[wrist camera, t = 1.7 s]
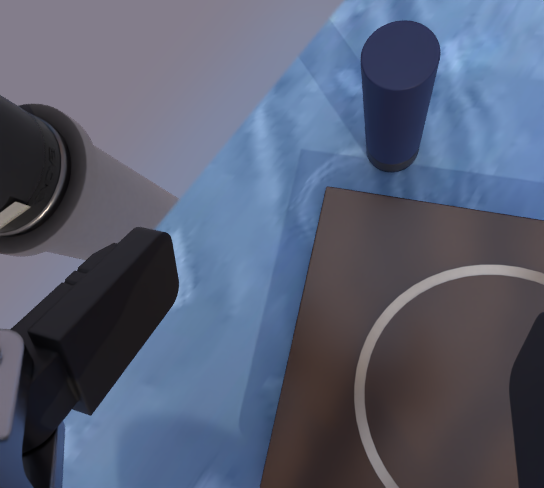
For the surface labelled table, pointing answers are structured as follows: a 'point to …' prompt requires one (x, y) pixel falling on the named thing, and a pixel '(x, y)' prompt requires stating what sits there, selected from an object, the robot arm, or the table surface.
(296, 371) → the brown wooden board
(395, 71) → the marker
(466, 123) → the table surface
